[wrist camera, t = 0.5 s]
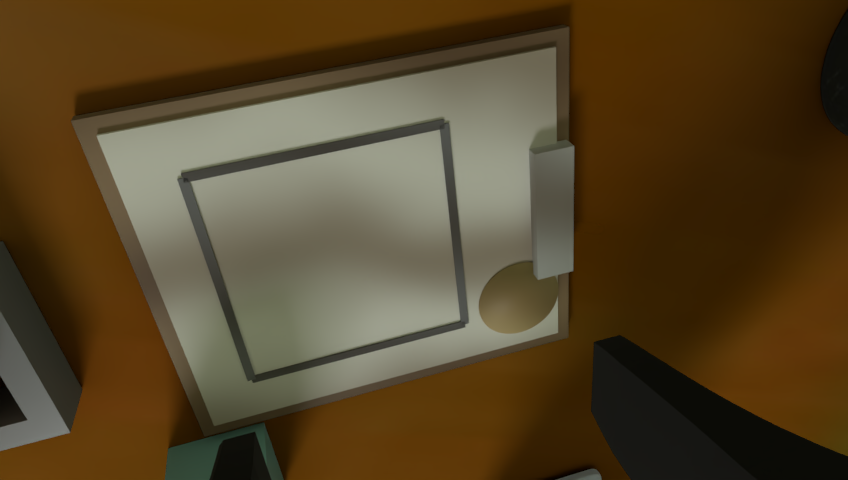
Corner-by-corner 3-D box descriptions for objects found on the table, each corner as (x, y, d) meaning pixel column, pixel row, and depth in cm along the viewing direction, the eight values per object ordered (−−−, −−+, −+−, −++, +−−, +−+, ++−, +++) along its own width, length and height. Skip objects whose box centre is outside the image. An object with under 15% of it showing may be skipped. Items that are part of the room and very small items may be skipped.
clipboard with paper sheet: (564, 331, 26) (574, 346, 26) (204, 429, 24) (203, 449, 23) (563, 24, 20) (578, 30, 19) (74, 115, 18) (66, 128, 17)
